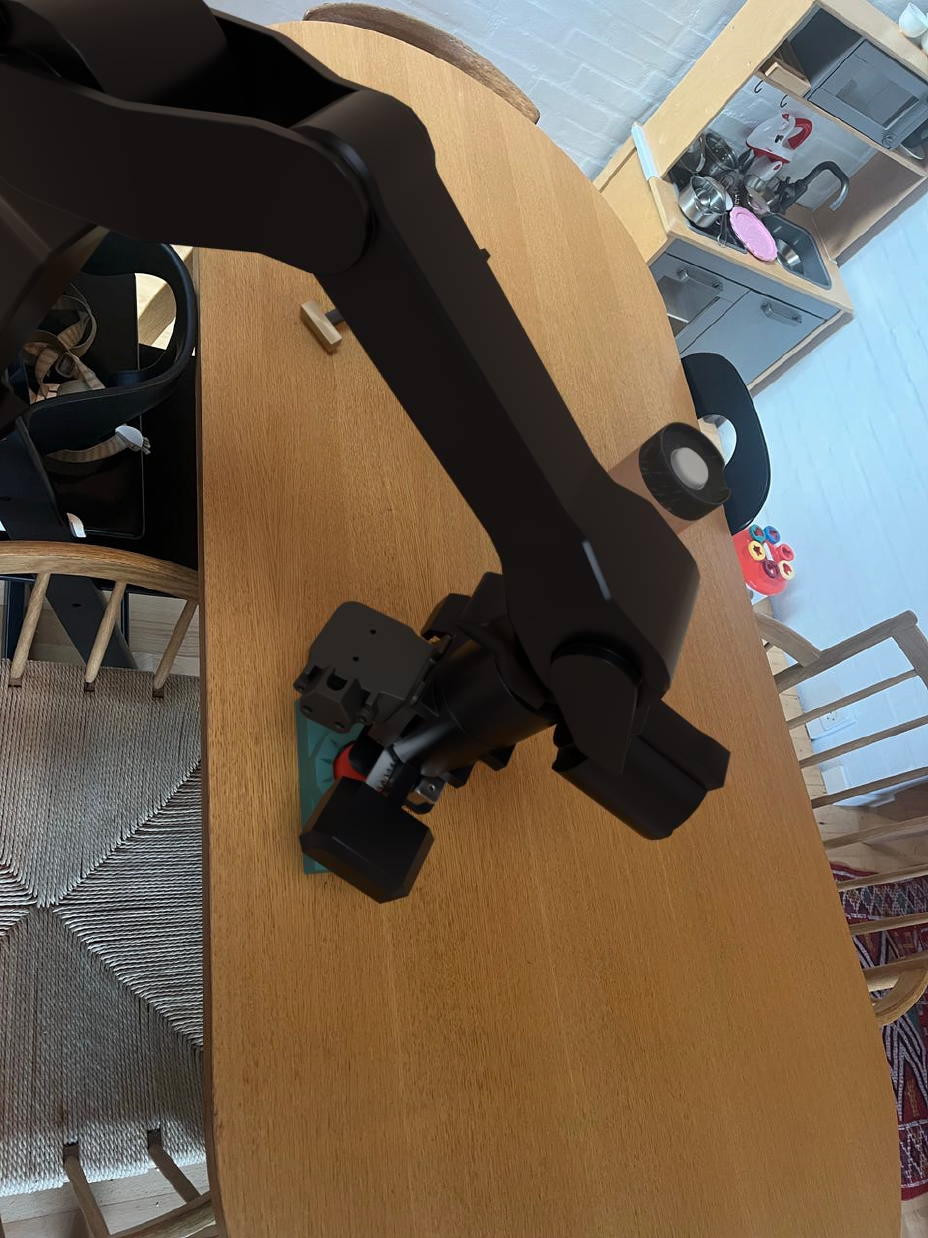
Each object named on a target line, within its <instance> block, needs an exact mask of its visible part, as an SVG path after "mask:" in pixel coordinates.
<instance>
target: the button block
mask: <svg viewBox="0 0 928 1238" xmlns="http://www.w3.org/2000/svg"><path fill="white" fill-rule="evenodd" d="M299 702H300V697H299V698H297V700H295V701H294V708H295V709H294V711H295V728H296V730H295V731H296V750H297V768H298V770H297V771H298V790H299V806H300V807H299V808H300V825H301V827H300V829H301V831H302V830H303V828H304V827H305V825H306V823H307V822H308V820H309V818H310V816H311V815H312V813H313V811H314V810H315V808H316V806H317V805H318V803H319V801H320V800H321V798H322V796H323V795H324V794H325V792H326V791H327V790H328V789H329V788H330V786H331V785H332V784H333V783H334V781H335V780H334V776H333V762H334V760H335V758H336V757H337V756H338V755H339V754H340V753H341V752H342V751H344V750H345V749H347V748H348V747H350V746H351V745H353V744H354V742H355V741H356V739H357V737H358V735H359V734H360V732H361V730H362V729H363V727H364V725H363V724H361V723H356V724H354V725H353V726H352V728H351V730H350V731H349V733H347V734H338V733H336V732H334V731H332V730H330V729H328V728H326V727H324V726H322V725H320V724H318V723H316V722H314V721H312V720H310V719H308V718H306V717H305V716H304V715H303V714H302V713H301V712H300V709H299ZM372 723H373V724H374V722H372ZM381 791H382V790H381ZM381 791H380V793H381ZM302 862H303V863H302V864H303V867H302V868H303V875H305V876H307V875H316V874H317V875H318V874H329V873H332V872H331V871H329V870H328V869H326V868H325V867H323V866H322V865H320V864H319V863H317V862H316V861H314V860H313V859H311V858H310V857H308V856H307V855H305V854H304V853H302Z"/></svg>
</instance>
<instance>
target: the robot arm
mask: <svg viewBox="0 0 928 1238" xmlns="http://www.w3.org/2000/svg"><path fill="white" fill-rule="evenodd" d="M436 158H437V157H436V150H435V147H434V144H433V142H432V139H431V136H430V132H429V130H428V128H427V126H426V125H425V124H424V122H423V120H421V118H420V117H419V116H418V115H417V113H416V111H414V109H413V108H412V107H410V105H407V104H406V103H404V102H403V101H401V100H400V99H398V98H396V97H395V96H393V95H391V94H389V93H385V92H383V91H381V90H377V89H374V88H372V87H370V86H367V85H363V84H361V83H358V82H355V81H353V80H350V79H347V78H344V77H342V76H340V75H339V74H337V73H336V72H335V71H333V70H332V69H331V68H330V67H328V66H327V65H326V64H325V63H323V62H322V61H321V60H319V59H318V58H316V56H314V55H313V54H312V53H310V52H309V51H307V50H306V49H305V48H304V47H303V46H301V45H300V44H299V43H297V42H296V41H294V39H292V38H291V37H289V36H288V35H287V34H284V33H283V32H280V31H278V30H275V29H272V28H270V27H267V26H263V25H261V24H258V23H255V22H252V21H250V20H247V19H244V18H241V17H238V16H236V15H233V14H230V13H227V12H226V11H222V10H220V9H216V8H214V7H210V6H209V5H208V4H207V3H206V2H205V1H204V0H0V442H1V441H2V440H4V439H5V438H6V437H8V436H9V435H10V434H12V433H13V432H15V431H16V428H17V427H16V421H17V420H18V419H19V418H20V417H21V416H22V415H24V414H25V413H26V412H29V410H31V409H32V408H31V406H30V405H28V404H27V403H26V402H25V401H24V400H22V399H21V398H20V397H19V396H17V395H16V394H15V393H14V387H13V386H12V385H11V384H10V383H9V382H8V381H7V380H6V379H5V378H3V375H4V374H5V372H6V371H7V369H8V368H9V367H10V366H11V364H12V363H13V361H14V360H15V359H16V358H17V356H18V355H19V353H20V352H21V351H22V349H23V348H24V346H25V345H26V344H27V342H28V341H29V340H30V338H31V337H32V335H33V334H34V333H35V332H36V331H37V329H38V328H39V326H40V325H41V324H42V322H43V321H44V320H45V318H46V317H47V315H48V314H49V313H50V312H51V310H52V309H53V307H54V306H55V305H56V304H57V302H58V301H59V299H60V298H61V297H62V295H63V294H64V292H65V291H66V290H67V289H68V287H69V285H71V283H72V282H73V280H74V279H75V278H76V276H77V275H78V274H79V272H80V271H81V270H82V268H83V267H84V265H85V264H86V263H87V261H88V260H89V259H90V257H91V256H92V255H93V253H94V252H95V250H96V249H97V248H98V246H99V245H100V244H101V243H102V241H103V240H104V239H105V237H106V236H107V234H108V233H109V232H113V233H116V234H118V235H121V236H123V237H126V238H129V239H131V240H134V241H138V242H142V243H146V244H147V243H149V244H157V245H158V244H159V245H168V246H180V247H189V248H199V249H200V248H201V249H212V250H221V251H232V252H233V251H234V252H244V253H251V254H252V253H253V254H258V255H262V256H264V257H267V258H270V259H272V260H275V261H278V262H281V263H282V264H285V265H288V266H290V267H292V268H295V269H298V270H301V271H303V272H305V273H308V274H312V276H313V277H314V278H315V280H316V281H317V283H318V284H319V285H320V287H321V289H322V290H323V292H324V293H325V295H326V296H327V298H328V299H329V301H330V302H331V303H332V305H333V306H334V309H335V308H336V309H337V311H338V312H339V314H340V315H341V317H342V318H343V320H344V321H345V322H344V323H345V325H346V326H347V327H348V329H349V330H350V331H351V333H352V335H353V336H354V337H355V339H356V340H357V342H358V344H359V345H360V347H361V348H362V349H363V351H364V352H365V353H366V355H367V357H368V358H369V360H370V361H371V363H372V364H373V366H374V367H375V369H376V371H377V372H378V374H379V375H380V376H381V378H382V379H383V380H384V382H385V384H386V385H387V387H388V388H389V389H390V391H391V393H392V394H393V395H394V397H395V398H396V400H397V401H398V403H399V405H400V406H401V407H402V409H403V410H404V412H405V414H406V415H407V416H408V418H409V419H410V421H411V423H412V424H413V425H414V426H415V428H416V429H417V432H419V434H420V436H421V437H422V439H423V440H424V441H425V443H426V444H427V446H428V448H430V450H431V453H433V455H434V456H435V458H436V459H437V461H438V463H439V464H440V466H441V467H442V468H443V470H444V472H445V473H446V474H447V476H448V477H449V479H450V480H451V482H452V483H453V484H454V486H455V488H456V489H457V491H458V492H459V493H460V496H462V498H463V499H464V501H465V502H466V504H467V506H468V507H469V508H470V510H471V511H472V513H473V514H474V516H475V517H476V519H477V521H478V522H479V523H480V525H481V526H482V528H483V529H484V531H485V532H486V534H487V535H488V537H489V540H490V541H491V543H492V546H493V547H494V550H495V552H496V554H497V556H498V559H499V563H500V568H501V569H500V570H501V573H498V572H495V571H490V570H489V571H486V572H484V573H483V574H482V576H481V578H480V580H479V582H478V584H477V585H476V587H475V589H474V591H473V593H472V594H471V595H469V594H462V593H455V592H450V593H448V594H447V595H446V596H444V597H443V598H442V599H441V600H440V601H439V602H438V603H436V604H435V606H434V608H433V609H432V611H431V613H430V615H429V616H428V617H427V619H426V621H425V623H424V625H423V626H422V628H421V629H420V631H419V635H420V636H419V635H418V633H416V631H415V630H414V629H413V627H411V626H409V625H408V624H406V623H404V622H402V621H400V620H398V619H395V618H393V617H392V616H390V615H387V614H385V613H383V612H381V611H379V610H377V609H375V608H373V607H371V606H369V605H366V604H365V603H362V602H360V601H356V600H348V601H345V602H344V601H343V603H341V604H339V606H337V608H336V609H335V610H334V612H333V613H332V615H331V616H330V617H329V619H328V620H327V622H326V623H325V625H324V626H323V627H322V629H320V632H319V633H318V634H317V636H316V637H315V639H314V640H313V641H312V642H311V645H310V646H309V647H308V654H307V655H308V656H307V663H306V664H305V666H304V668H303V669H302V670H301V672H300V674H299V675H298V676H297V678H296V680H294V682H293V684H292V687H293V689H294V690H295V691H296V692H298V693H299V694H300V695H301V696H300V697H299V698H300V702H299V709H300V712H301V713H302V714H303V715H304V716H305V717H306V718H308V719H310V720H312V721H314V722H316V723H318V724H320V725H322V726H324V727H326V728H328V729H330V730H332V731H334V732H336V733H338V734H347V733H349V731H350V730H351V728H352V726H353V725H354V724H356V723H361V724H363V725H364V727H363V729H362V730H361V732H360V734H359V735H358V737H357V739H356V741H355V742H354V744H353V746H352V747H351V749H350V751H349V754H348V760H349V763H350V765H351V767H352V768H353V769H354V770H355V771H356V772H357V773H358V774H360V775H361V776H363V777H364V778H366V780H365V781H361V780H357V779H354V778H350V777H346V776H342V777H340V778H338V779H337V780H335V781H334V783H333V784H332V785H331V786H330V788H329V789H328V790H327V791H326V792H325V794H324V795H323V796H322V798H321V800H320V801H319V803H318V805H317V806H316V808H315V810H314V811H313V813H312V815H311V816H310V818H309V820H308V822H307V823H306V825H305V827H304V828H303V830H302V829H301V831H300V832H299V835H298V842H299V846H300V850H301V853H302V854H303V853H304V854H305V855H307V856H308V857H310V858H311V859H313V860H314V861H316V862H317V863H319V864H320V865H322V866H323V867H325V868H326V869H328V870H329V871H331V873H333V875H335V876H337V877H338V878H340V879H341V880H343V881H344V882H346V883H348V884H349V885H350V886H352V887H353V888H355V889H356V890H358V891H359V892H361V893H362V894H364V895H365V896H367V897H368V898H369V899H371V900H373V901H374V902H376V903H378V904H379V905H381V904H386V903H391V902H394V901H398V900H399V899H400V900H401V899H404V898H407V897H409V896H410V893H411V891H412V889H413V887H414V885H415V883H416V881H417V879H418V876H419V874H420V873H421V870H422V868H423V866H424V863H425V861H426V859H427V857H428V855H429V853H430V851H431V848H432V847H433V845H434V842H435V837H434V835H433V833H432V830H431V827H429V826H428V825H426V824H425V823H424V822H423V821H421V820H420V819H418V818H417V817H416V816H414V815H413V814H411V813H409V812H408V811H407V810H405V809H404V808H403V807H405V808H406V809H408V810H409V811H411V812H412V813H414V814H415V815H418V816H419V815H420V816H422V815H423V816H424V815H427V814H430V813H431V812H432V810H433V809H434V807H435V804H438V802H439V800H440V798H441V796H442V794H443V792H444V790H445V788H446V785H447V784H448V785H450V786H451V787H452V788H454V789H455V790H458V789H461V788H463V787H465V786H466V785H467V783H468V782H469V779H470V777H471V774H472V772H473V770H474V768H475V766H476V764H477V763H479V762H482V763H483V764H485V765H486V766H487V767H489V768H490V769H491V770H492V771H494V772H499V771H501V770H503V769H505V768H508V764H509V762H510V760H511V758H512V755H513V754H514V751H515V748H516V746H517V744H518V743H520V742H522V741H524V740H527V739H529V738H531V737H534V736H535V735H537V734H539V733H541V732H543V731H546V730H547V729H549V728H551V727H554V730H553V734H552V742H553V745H554V746H555V747H556V748H557V752H556V756H555V760H554V761H553V762H552V764H551V770H552V771H553V772H555V773H556V774H558V775H559V776H560V777H562V778H563V779H564V780H566V781H567V782H568V783H570V784H571V785H573V786H574V787H575V788H577V789H578V790H579V791H581V792H582V793H583V794H584V795H585V796H587V797H588V798H590V799H591V800H592V801H594V802H595V803H596V804H598V806H600V807H602V808H603V809H604V810H605V811H607V812H608V813H610V814H611V815H612V816H613V817H615V818H616V819H618V820H619V821H620V822H621V823H622V824H624V825H626V826H627V827H628V828H630V829H631V830H632V831H633V832H635V833H636V834H637V835H638V836H639V837H641V838H643V839H646V840H649V841H661V840H664V839H667V838H669V837H671V836H672V834H673V833H674V831H676V830H677V829H678V828H679V827H681V826H682V825H683V824H684V823H685V822H687V821H688V820H689V819H690V818H691V816H693V814H694V813H695V812H696V811H697V810H698V809H699V807H700V806H701V804H702V803H703V801H704V800H705V798H706V797H707V794H708V793H709V792H712V791H716V790H719V789H722V788H724V787H725V784H726V779H727V774H728V769H729V764H730V760H731V756H732V751H730V750H729V749H727V747H725V746H723V744H722V743H720V742H719V741H717V739H715V738H713V737H712V736H710V735H709V734H707V733H705V732H703V731H702V730H700V729H699V728H697V727H696V726H695V725H694V724H692V723H691V722H690V721H688V720H687V719H686V718H685V717H683V716H682V715H681V714H680V713H678V712H677V711H676V710H674V709H673V708H672V707H671V706H670V705H669V704H668V703H666V702H665V701H664V700H662V699H664V697H665V696H666V695H667V692H668V691H670V690H671V687H672V683H673V680H674V676H675V673H676V669H677V666H678V662H679V659H680V656H681V653H682V650H683V645H684V642H685V639H686V636H687V632H688V630H689V629H688V628H689V626H690V625H689V624H690V621H691V618H692V615H693V612H694V608H695V604H696V601H697V598H698V595H699V591H700V587H701V574H700V570H699V567H698V563H697V561H696V559H695V558H694V556H693V555H692V553H691V552H690V550H689V549H688V548H687V546H686V545H685V544H684V543H683V541H682V540H681V538H680V537H679V536H678V535H676V534H675V532H674V531H673V530H672V528H671V527H670V526H669V524H668V523H667V522H666V521H665V519H664V518H663V517H662V515H661V514H660V513H659V512H658V510H657V509H656V508H655V506H654V505H653V504H652V503H651V502H650V501H649V500H647V499H645V498H644V497H642V496H640V495H638V494H637V493H635V492H633V491H631V490H629V489H628V488H626V487H624V486H622V485H620V484H618V483H617V482H615V481H614V480H613V479H612V478H611V477H610V476H609V474H608V473H607V472H608V471H607V470H606V469H605V468H604V467H603V465H602V464H601V463H600V462H599V461H598V459H597V457H596V456H595V455H594V453H593V451H592V448H591V447H590V445H589V443H588V442H587V440H586V438H585V437H584V435H583V432H582V431H581V429H580V427H579V426H578V424H577V422H576V420H575V418H574V417H573V415H572V413H571V411H570V409H569V407H568V406H567V404H566V402H565V400H564V399H563V396H562V395H561V392H560V391H559V389H558V388H557V386H556V384H555V382H554V381H553V378H552V376H551V375H550V372H549V371H548V370H547V368H546V366H545V364H544V362H543V360H542V359H541V357H540V355H539V353H538V351H537V349H536V348H535V346H534V344H533V343H532V341H531V338H530V336H529V335H528V333H527V331H526V330H525V328H524V325H523V323H522V322H521V321H520V319H519V317H518V315H517V313H516V312H515V310H514V308H513V306H512V304H511V303H510V300H509V299H508V297H507V295H506V293H505V292H504V290H503V288H502V286H501V284H500V282H499V280H498V279H497V277H496V275H495V273H494V272H493V270H492V268H491V265H490V264H489V262H488V261H486V259H485V257H484V255H483V254H482V252H481V250H480V249H481V248H480V246H479V244H478V242H477V241H476V239H475V236H474V235H473V234H472V232H471V230H470V228H469V226H468V224H467V223H466V221H465V220H464V219H465V218H464V217H463V216H462V214H461V211H460V210H459V208H458V207H457V205H456V203H455V201H454V199H453V197H452V196H451V194H450V192H449V190H448V187H446V185H445V182H444V180H443V179H442V177H441V176H440V173H439V171H438V168H437V163H436V162H437V161H436ZM435 637H436V638H437V640H435V641H432V642H430V641H431V640H432V639H433V638H435ZM372 722H374V724H373V723H372ZM378 788H379V789H381V790H382V791H381V793H380V790H379V789H378Z"/></svg>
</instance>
